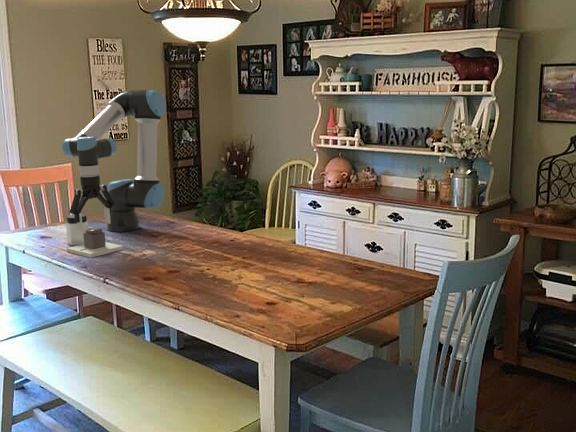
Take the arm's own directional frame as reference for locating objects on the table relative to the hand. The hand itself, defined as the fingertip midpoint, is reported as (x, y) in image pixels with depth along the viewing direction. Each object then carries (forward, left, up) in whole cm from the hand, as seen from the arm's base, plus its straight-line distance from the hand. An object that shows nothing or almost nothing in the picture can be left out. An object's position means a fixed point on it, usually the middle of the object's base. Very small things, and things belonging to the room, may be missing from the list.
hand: (94, 226), depth 268 cm
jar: (-4, -17, -10) cm, 20 cm away
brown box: (0, 0, -8) cm, 8 cm away
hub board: (0, 0, -10) cm, 10 cm away
